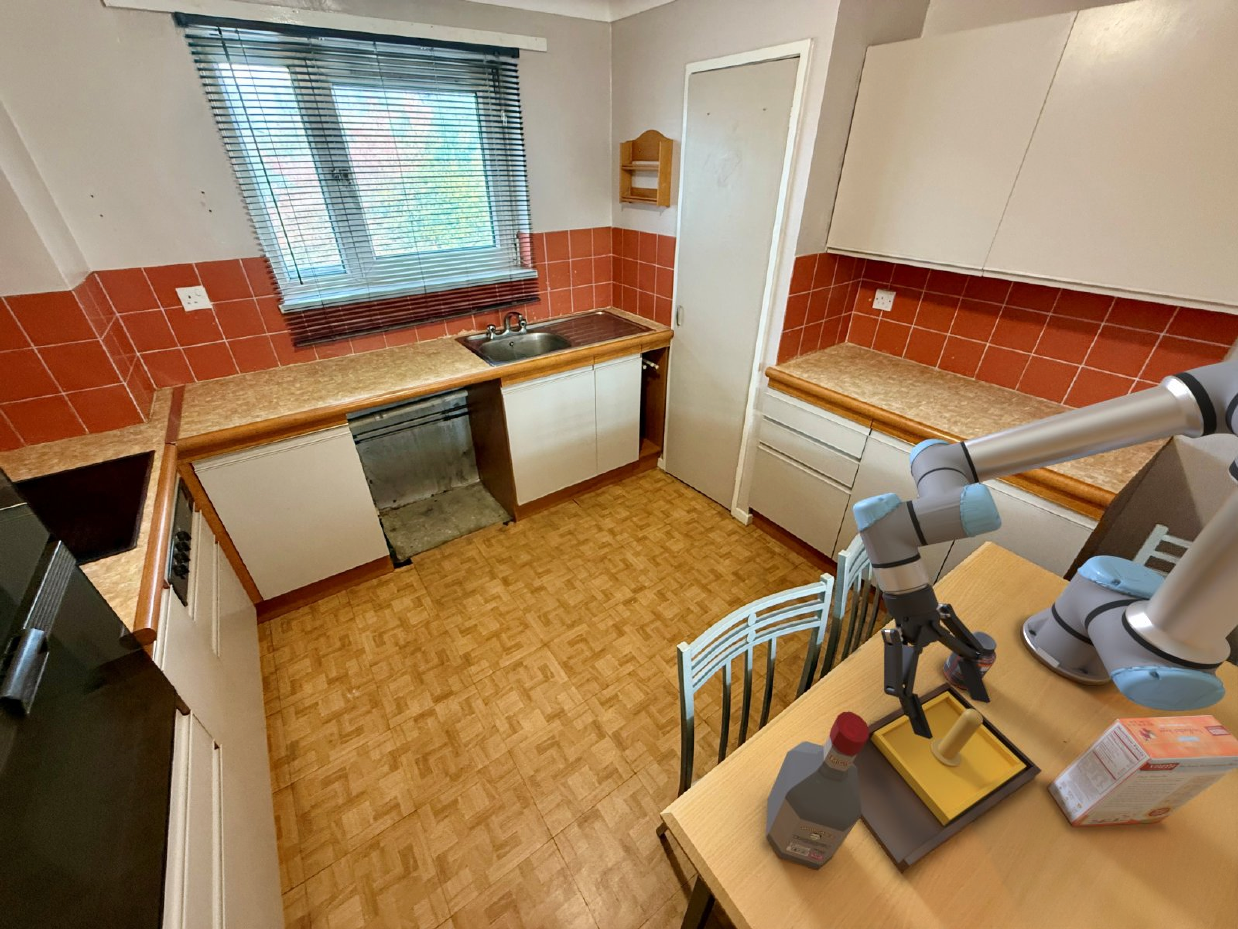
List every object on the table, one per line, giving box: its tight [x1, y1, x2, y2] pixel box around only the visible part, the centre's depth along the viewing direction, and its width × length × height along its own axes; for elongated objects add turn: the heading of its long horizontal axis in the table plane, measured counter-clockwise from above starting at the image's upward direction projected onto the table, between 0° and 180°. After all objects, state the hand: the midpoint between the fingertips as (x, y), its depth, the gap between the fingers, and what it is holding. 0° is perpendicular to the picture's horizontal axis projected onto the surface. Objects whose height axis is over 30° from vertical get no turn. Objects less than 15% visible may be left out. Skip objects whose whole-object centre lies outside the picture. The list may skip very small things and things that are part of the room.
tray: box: [871, 691, 1026, 826], centre depth 80 cm, size 18×14×13 cm
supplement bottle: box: [942, 630, 998, 690], centre depth 94 cm, size 6×6×11 cm
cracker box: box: [1046, 714, 1238, 827], centre depth 73 cm, size 14×6×21 cm, turn 92°
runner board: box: [852, 681, 1042, 875], centre depth 82 cm, size 30×17×3 cm, turn 115°
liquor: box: [765, 711, 869, 871], centre depth 67 cm, size 9×9×30 cm
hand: (953, 717), depth 80 cm, fingers open, 13 cm apart
